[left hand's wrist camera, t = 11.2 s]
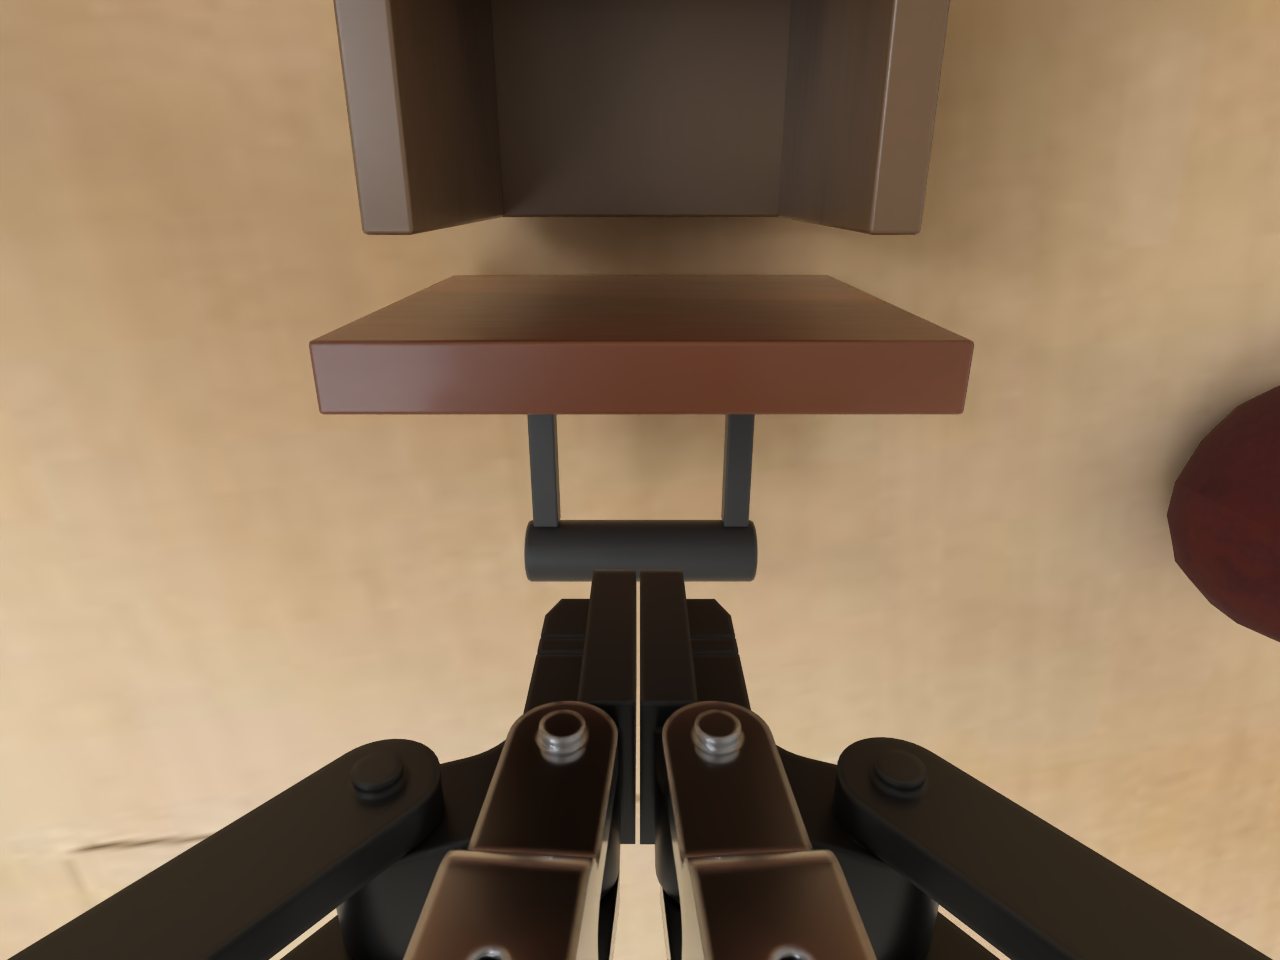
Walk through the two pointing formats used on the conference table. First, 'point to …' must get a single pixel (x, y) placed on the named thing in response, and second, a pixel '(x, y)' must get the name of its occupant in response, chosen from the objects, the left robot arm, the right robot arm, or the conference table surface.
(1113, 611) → the conference table surface
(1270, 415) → the dark maroon ball
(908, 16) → the drawer
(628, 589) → the left robot arm
